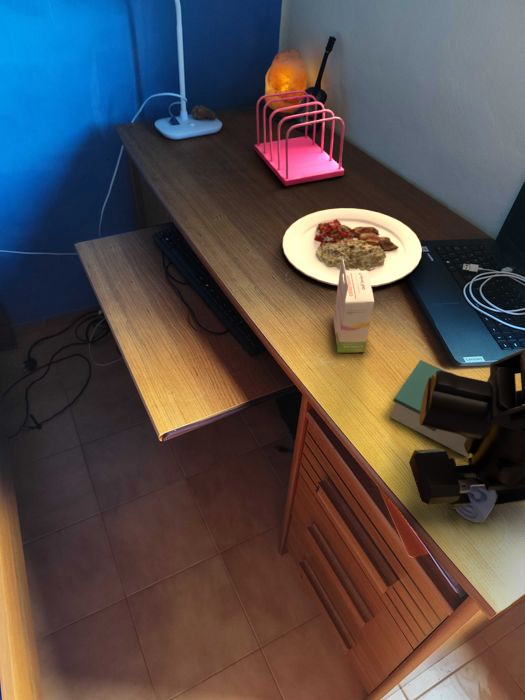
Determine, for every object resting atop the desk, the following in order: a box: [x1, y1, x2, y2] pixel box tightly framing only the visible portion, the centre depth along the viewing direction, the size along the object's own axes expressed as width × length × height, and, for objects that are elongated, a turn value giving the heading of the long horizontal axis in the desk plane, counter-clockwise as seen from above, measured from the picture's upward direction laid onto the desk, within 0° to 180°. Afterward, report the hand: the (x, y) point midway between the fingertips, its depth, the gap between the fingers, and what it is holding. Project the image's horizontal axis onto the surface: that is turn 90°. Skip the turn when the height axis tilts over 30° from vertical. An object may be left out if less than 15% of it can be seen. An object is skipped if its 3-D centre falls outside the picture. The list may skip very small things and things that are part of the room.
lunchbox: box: [390, 359, 469, 458], centre depth 70 cm, size 12×10×5 cm
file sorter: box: [254, 89, 345, 187], centre depth 128 cm, size 17×25×16 cm
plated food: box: [282, 207, 423, 288], centre depth 102 cm, size 30×30×3 cm
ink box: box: [333, 257, 375, 354], centre depth 79 cm, size 9×5×15 cm, turn 179°
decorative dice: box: [454, 486, 498, 523], centre depth 60 cm, size 4×4×4 cm
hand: (472, 503), depth 61 cm, fingers closed on decorative dice, 5 cm apart
